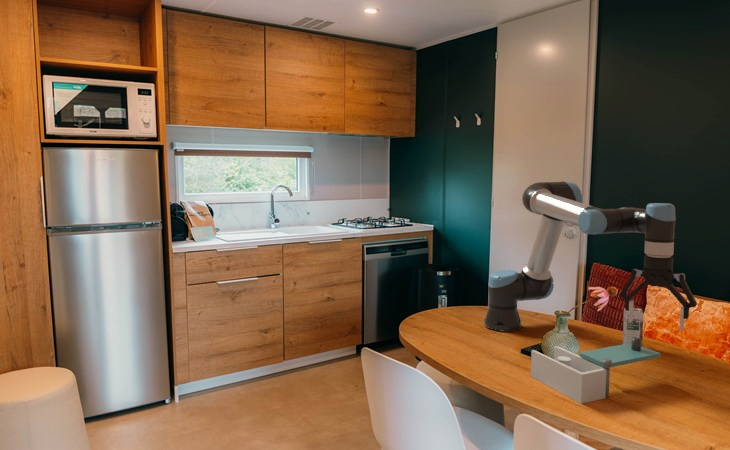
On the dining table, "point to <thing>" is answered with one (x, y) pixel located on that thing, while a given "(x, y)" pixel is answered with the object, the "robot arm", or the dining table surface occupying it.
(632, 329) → the syrup box
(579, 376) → the grey planter box
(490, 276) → the robot arm
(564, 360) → the pill bottle
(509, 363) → the dining table surface
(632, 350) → the lid
